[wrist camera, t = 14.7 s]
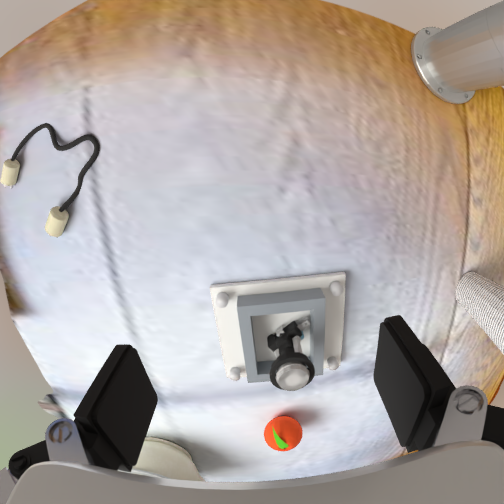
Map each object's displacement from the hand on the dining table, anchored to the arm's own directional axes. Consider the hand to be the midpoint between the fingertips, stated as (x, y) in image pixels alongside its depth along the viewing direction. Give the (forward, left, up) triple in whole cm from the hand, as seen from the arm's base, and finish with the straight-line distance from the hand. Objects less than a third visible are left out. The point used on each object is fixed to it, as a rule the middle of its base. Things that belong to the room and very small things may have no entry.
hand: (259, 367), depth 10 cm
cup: (-35, +14, -28) cm, 47 cm away
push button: (-3, +16, -27) cm, 31 cm away
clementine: (-1, +37, -28) cm, 47 cm away
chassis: (-2, +17, -27) cm, 32 cm away
